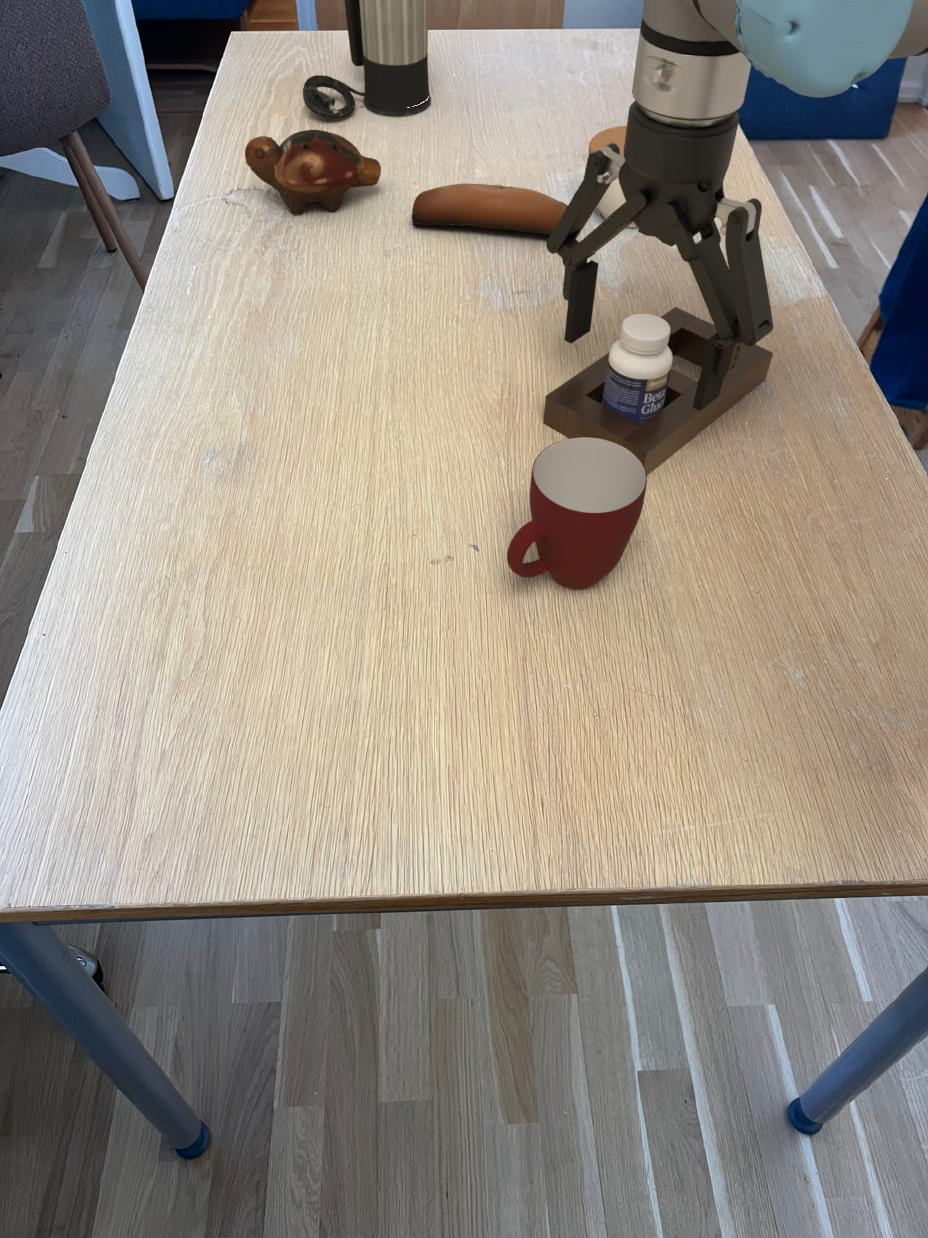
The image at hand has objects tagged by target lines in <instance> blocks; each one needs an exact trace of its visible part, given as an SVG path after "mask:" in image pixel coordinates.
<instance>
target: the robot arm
mask: <svg viewBox="0 0 928 1238" xmlns="http://www.w3.org/2000/svg"><path fill="white" fill-rule="evenodd" d="M642 6H643V7H642V13H641V14H642V16H641V21H640V29H639V33H638V35H639V36H638V42H637V51H636V58H635V64H634V65H635V66H634V73H633V80H632V86H631V88H632V89H631V94H632V97H633V99H634V101H633V102H632V103H631V104H630V106H629V108H628V115H627V122H626V126H627V128H626V136H625V143H624V157H623V156H621V155H620V150H619V147H618V146H617V145H616V144H615V143H611V144H609V145H607V146H605V147H603V148H601V149H599V150H597V151H595V152H593V153H591V154H590V155H589V154H588V156H587V159H586V164H585V169H584V175H583V180H582V181H581V183H580V185H579V186H578V187H577V189H576V192H575V193H574V195H573V196H572V198H571V200H570V201H569V203H568V204H567V205H568V207H567V208H566V210H565V212H564V213H563V215H562V217H561V218H560V220H559V222H558V224H557V225H556V227H555V229H554V230H553V232H552V234H551V235H549V237H548V238H547V240H546V244H545V245H546V250H547V251H548V252H549V253H550V254H551V255H554V254H557V255H558V256H559V257H560V258H561V260H562V264H563V266H564V275H563V285H562V286H563V287H562V297H563V300H564V301H567V308H566V309H567V310H566V319H565V320H566V321H565V331H564V339H563V341H565V342H567V343H568V344H571V345H572V344H573V343H575V342H576V341H578V340H579V339H580V338H582V337H584V336H585V335H587V334H588V333H589V332H591V327H592V321H593V320H592V319H593V312H594V303H595V296H596V289H597V288H596V286H597V281H598V280H597V279H598V271H599V262H596V261H594V260H592V259H590V258H591V257H593V256H595V255H596V253H597V252H598V251H599V250H601V249H602V248H604V246H606V245H607V244H609V242H612V240H613V239H614V238H616V237H617V236H618V235H619V234H620V233H622V232H623V231H624V230H625V229H627V228H628V226H629V225H630V224H631V223H633V222H634V223H635V225H636V226H637V227H636V228H638V230H637V232H638V233H640V234H642V235H643V236H645V237H654V238H656V239H658V241H660V242H661V243H663V244H665V245H666V246H669V247H674V246H676V248H677V250H678V252H679V255H680V257H681V260H683V261H684V262H686V263H688V265H689V267H690V269H691V272H692V274H693V278H694V280H695V281H696V284H697V287H698V289H699V291H700V294H701V296H702V298H703V301H704V304H705V306H706V309H707V311H708V314H709V315H710V318H711V320H712V324H713V325H715V328H716V330H717V333H716V334H714V335H713V336H711V337H710V338H709V340H708V344H707V348H706V352H705V357H704V361H703V365H702V367H701V370H700V373H699V379H698V381H697V382H698V386H697V390H696V394H695V399H694V403H693V408H695V409H696V410H698V411H701V410H702V409H704V408H705V407H706V406H708V405H709V404H710V403H711V402H713V401H714V400H715V399H716V398H718V397H719V394H720V390H721V386H722V382H723V378H725V377H726V376H727V375H728V374H730V373H731V372H732V371H733V370H734V369H735V368H736V367H737V365H738V361H739V357H740V354H741V350H742V346H743V343H744V344H745V345H747V346H753V345H755V344H756V345H757V343H759V342H760V341H761V340H763V339H764V338H766V337H767V336H768V335H769V334H770V333H771V332H773V330H774V321H773V315H772V308H771V302H770V297H769V290H768V285H767V276H766V272H765V265H764V258H763V253H762V246H761V241H760V234H759V231H760V223H761V217H762V210H763V205H762V203H761V201H760V200H759V199H758V198H755V197H752V198H749V199H748V200H747V201H746V202H742V201H739V200H736V199H735V200H734V199H730V198H727V197H726V196H725V190H724V181H725V177H726V174H727V172H728V169H729V166H730V163H731V159H732V155H733V150H734V146H735V142H736V137H737V133H738V127H739V122H740V115H739V113H738V111H737V110H740V108H741V107H742V105H743V104H744V103H745V98H746V93H747V88H748V83H749V77H750V73H751V68H752V66H753V68H754V69H755V70H756V71H757V72H761V74H762V75H763V76H764V77H765V78H767V79H768V78H770V79H773V80H774V81H775V82H776V83H777V84H780V85H783V86H785V87H786V88H788V89H789V90H791V92H794V93H796V94H798V95H801V96H804V97H809V98H829V97H833V96H837V95H840V94H842V93H844V92H846V91H848V90H849V89H850V88H851V87H853V86H854V85H856V84H857V83H859V82H860V81H862V80H864V79H866V78H869V77H870V76H871V75H873V74H874V73H875V72H876V71H878V70H879V69H880V67H882V65H883V64H884V63H885V62H886V61H887V60H894V59H901V58H909V57H919V56H922V55H928V0H643V5H642ZM617 178H618V179H619V183H620V186H621V189H622V192H623V195H624V197H625V200H626V202H625V203H624V204H623V205H621V206H620V207H619V208H618V209H617V210H616V211H614V212H613V213H612V214H611V215H610V216H609V217H608V218H607V219H606V220H605V219H604V220H603V222H602V223H601V224H599V225H598V226H596V228H594V229H593V230H592V231H591V232H589V233H588V234H587V235H586V236H585V237H584V238H583V239H581V240H580V241H579V240H577V239H578V237H579V236H580V235H581V232H582V231H583V229H584V227H585V226H586V225H587V223H588V221H589V219H590V218H591V216H592V215H593V213H594V211H595V210H596V209H597V205H598V204H599V202H600V200H601V199H602V197H603V196H604V194H605V192H606V191H607V189H608V188H609V186H610V184H611V183H612V182H613V181H614V180H616V179H617ZM716 218H718V219H719V220H720V222H721V227H720V229H718V226H717V223H716V221H715V219H716ZM698 234H699V235H700V237H701V238H700V240H699V241H698V242H696V241H695V240H694V237H695V236H697V235H698ZM721 234H722V235H723V236H725V237H724V245H725V246H724V247H725V253H726V257H725V255H724V253H723V250H722V248H721V241H722V236H721ZM588 259H590V260H589V261H588Z"/></svg>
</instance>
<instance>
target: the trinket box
mask: <svg viewBox="0 0 928 1238" xmlns="http://www.w3.org/2000/svg"><path fill="white" fill-rule="evenodd" d="M626 128H627V125H621V126H620V125H619V126H613V127H609V128H607V129H604V130H601V131H599V132H598V133H596V134H595V135H594V136H593V137H591V139H590V141H589V144H588V156H589V155H590V154H591V153H593V152H595V151H597V150H599V149H601V148H603V147H605V146H607V145H609V144H611V143H615V144H616V145H617V146H618V147H619V150H620V155H621V156H623V157H624V143H625V136H626ZM625 202H626V200H625V197H624V195H623V192H622V189H621V186H620V183H619V179H618V178H617V179H616V180H614V181H613V182H612V183H611V184H610V186H609V188H608V189H607V191H606V192H605V194H604V196H603V197H602V199H601V200H600V202H599V204H598V205H597V207H596V209H597V210H599V212H600V213H601V214H602V217H603V218H604V221H605V220H606V219H607V218H608V217H609V216H610V215H611V214H612V213H613V212H614V211H616V210H617V209H618V208H619V207H620V206H621V205H623V204H624V203H625ZM627 228H632V229H633V228H638V227H637V226H636V225H635V223H634V222H633V223H631V224H630V225H629V226H628V227H627Z"/></svg>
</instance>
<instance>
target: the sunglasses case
mask: <svg viewBox="0 0 928 1238" xmlns="http://www.w3.org/2000/svg"><path fill="white" fill-rule="evenodd" d="M568 205H569V204H567V203H565V202H562V201H560V200H557V199H555V198H554V197H551V196H549V195H547V194H545V193H542V192H540V191H537V190H534V189H529V188H524V187H517V186H505V185H503V184H495V185H493V184H486V183H468V182H467V183H466V182H465V183H464V182H463V183H455V184H448V185H444V186H443V185H442V186H437V187H434V188H431V189H427V190H424V191H421V192H420V193H419V194H418V195H417V196H416V197H415V199H414V201H413V205H412V211H411V212H412V213H411V223H412V226H414V225H422V226H424V225H426V226H427V225H428V226H451V225H453V226H456V227H458V226H459V227H460V226H461V227H462V226H472V227H476V228H485V229H493V230H510V231H514V232H522V233H532V234H541V235H542V234H543V235H549V236H550V235H551V234H552V232H553V230H554V229H555V227H556V225H557V224H558V222H559V220H560V218H561V217H562V215H563V213H564V212H565V210H566V208H567V207H568Z"/></svg>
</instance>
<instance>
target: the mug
mask: <svg viewBox="0 0 928 1238" xmlns="http://www.w3.org/2000/svg"><path fill="white" fill-rule="evenodd" d="M529 483H530V485H529V508H530V515H531V520H530V521H528V522H527V523H525V524H523V525H522V526H521V527H520V528H519V529H518V530H517V531H516V533H515V534H514V535H513V537H512V539H511V540H510V542H509V545H508V548H507V552H506V561H507V564H508V567H509V569H510V570H511V571H512V572H513V573H514V574H515V575H517V576H518V577H520V578H524V579H526V578H527V579H528V578H534V577H537V576H540V575H542V574H545V573H546V572H548V574H549V575H550V577H552V579H553V580H554V581H555V582H556V583H557V584H559V585H560V586H562V587H564V588H566V589H570V590H585V589H586V590H587V589H588V588H591V587H593V586H595V585H596V584H598V583H600V582H601V580H603V579H604V578H605V577H606V576H608V575H609V574H610V573H611V572H612V571H613V570H614V569H615V568H616V566H617V565H618V564H619V562H620V561H621V559H622V557H623V554H624V552H625V550H626V548H627V546H628V544H629V542H630V540H631V537H632V536H633V533H634V531H635V528H636V527H637V525H638V523H639V520H640V517H641V514H642V511H643V507H644V502H645V498H646V497H645V496H646V491H647V485H648V475H647V474H646V470H645V468H644V466H643V464H642V462H641V461H640V460H639V459H638V457H637V456H636V455H635V454H633V453H632V452H631V451H630V450H628V449H626V448H625V447H623V446H621V445H619V444H617V443H614V442H612V441H608V440H605V439H600V438H593V437H576V438H566V439H562V440H559V441H556V442H554V443H552V444H550V445H548V446H547V447H545V448H544V449H543V450H542V451H540V452H539V454H538V455H537V456H536V458H535V459H534V462H533V465H532V469H531V475H530V482H529ZM534 543H535V548H536V553H537V555H538V558H537V559H536V560H533V561H529V562H524V561H525V557H526V554H527V552H528V550H529V549H530V547H531V546H532V545H533V544H534Z"/></svg>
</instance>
